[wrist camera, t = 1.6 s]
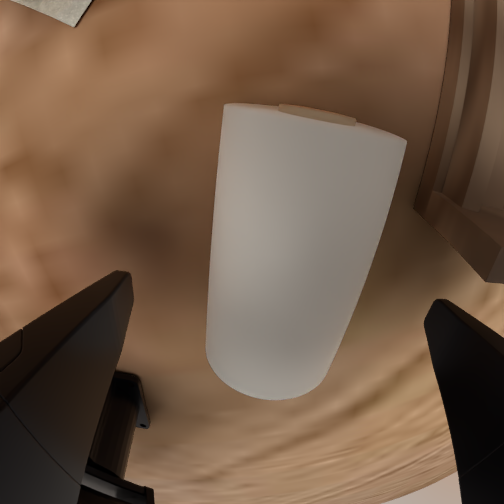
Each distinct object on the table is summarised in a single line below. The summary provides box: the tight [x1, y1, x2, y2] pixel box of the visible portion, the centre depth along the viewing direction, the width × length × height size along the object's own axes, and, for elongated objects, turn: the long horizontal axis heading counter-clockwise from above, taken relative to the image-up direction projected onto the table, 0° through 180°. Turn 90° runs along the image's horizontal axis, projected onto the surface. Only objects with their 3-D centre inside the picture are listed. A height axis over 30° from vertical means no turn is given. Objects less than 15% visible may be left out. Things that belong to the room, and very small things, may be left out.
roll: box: [205, 103, 407, 400], centre depth 10 cm, size 9×5×5 cm, turn 173°
